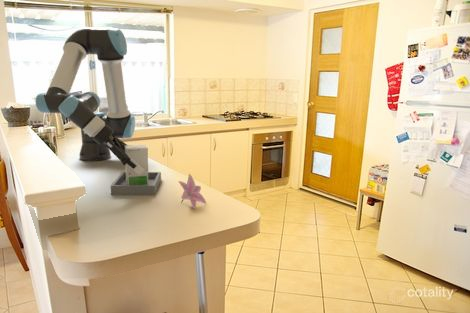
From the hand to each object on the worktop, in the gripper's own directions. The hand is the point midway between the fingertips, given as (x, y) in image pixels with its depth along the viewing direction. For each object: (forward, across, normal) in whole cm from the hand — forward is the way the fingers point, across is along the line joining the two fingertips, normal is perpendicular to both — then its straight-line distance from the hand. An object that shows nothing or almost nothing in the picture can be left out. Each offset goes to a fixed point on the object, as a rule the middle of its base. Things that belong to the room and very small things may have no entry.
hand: (142, 167), depth 134 cm
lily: (+17, +23, +6) cm, 29 cm away
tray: (+4, 0, -7) cm, 8 cm away
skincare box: (+4, 0, -6) cm, 7 cm away
